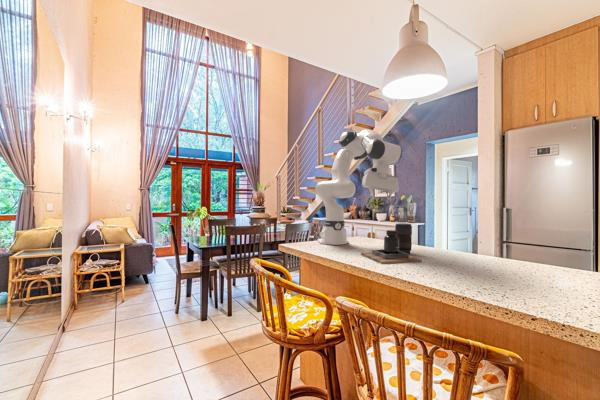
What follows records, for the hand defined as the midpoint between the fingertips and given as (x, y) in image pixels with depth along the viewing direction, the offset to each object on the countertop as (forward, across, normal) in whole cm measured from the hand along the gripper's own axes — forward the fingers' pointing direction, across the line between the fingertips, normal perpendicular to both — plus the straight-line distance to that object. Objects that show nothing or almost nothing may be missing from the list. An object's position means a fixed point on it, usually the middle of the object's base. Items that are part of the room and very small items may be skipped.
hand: (380, 197), depth 148 cm
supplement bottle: (+31, -2, +7) cm, 32 cm away
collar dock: (+32, -1, +6) cm, 32 cm away
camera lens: (+27, -14, -3) cm, 31 cm away
